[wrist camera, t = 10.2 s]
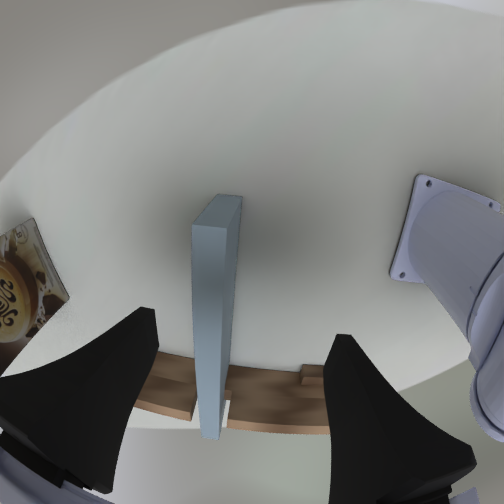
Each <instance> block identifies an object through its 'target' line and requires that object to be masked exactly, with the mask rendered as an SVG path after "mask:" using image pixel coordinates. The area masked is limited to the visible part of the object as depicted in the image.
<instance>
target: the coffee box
mask: <svg viewBox="0 0 504 504" xmlns="http://www.w3.org/2000/svg"><path fill="white" fill-rule="evenodd" d="M68 300H69V297H68V295H67V293H66V291H65V289H64V287H63V285H62V283H61V281H60V279H59V277H58V275H57V273H56V271H55V269H54V267H53V265H52V263H51V260H50V258H49V256H48V254H47V251H46V249H45V247H44V244H43V242H42V239H41V237H40V234H39V232H38V229H37V226H36V224H35V221H34V219H33V218H32V219H30V220H28V221H26V222H24V223H22V224H20V225H19V226H17V227H15V228H13V229H12V230H10V231H8V232H6V233H5V234H3V235H1V236H0V377H1V375H2V374H3V373H4V371H5V370H6V369H7V368H8V366H9V365H10V364H11V363H12V362H13V360H14V359H15V358H16V357H17V355H18V354H19V353H20V352H21V351H22V350H23V348H24V347H25V346H26V345H27V344H28V343H29V341H30V340H31V339H32V338H33V337H34V336H35V335H36V333H37V332H38V331H39V330H40V329H41V328H42V327H43V326H44V325H45V324H46V322H47V321H48V320H49V319H50V318H51V317H52V316H53V315H54V314H55V313H56V312H57V311H58V310H59V309H60V308H61V307H62V306H63V305H64V304H65V303H66V302H67V301H68Z"/></svg>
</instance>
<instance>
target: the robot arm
mask: <svg viewBox="0 0 504 504" xmlns="http://www.w3.org/2000/svg"><path fill="white" fill-rule="evenodd" d="M428 180H429V185H428V186H426V182H427V181H428ZM489 203H490V205H489ZM500 208H501V206H500V203H499V202H497V201H495V200H492V199H490V198H488V197H485V196H483V195H480V194H478V193H475V192H473V191H470V190H467V189H465V188H462V187H459V186H456V185H454V184H451V183H448V182H445V181H442V180H439V179H436V178H433V177H430V176H427V175H423V174H419V175H418V176H417V177H416V179H415V184H414V189H413V193H412V197H411V202H410V206H409V210H408V213H407V217H406V221H405V225H404V228H403V232H402V235H401V239H400V242H399V245H398V249H397V252H396V255H395V258H394V261H393V264H392V267H391V270H390V277H391V278H392V279H393V280H398V281H407V282H416V283H425V284H426V285H427V286H428V287H429V288H430V290H431V291H432V292H433V293H434V295H435V296H436V297H437V299H438V300H439V301H440V303H441V304H442V305H443V307H444V308H445V309H446V311H447V312H448V313H449V315H450V316H451V317H452V319H453V320H454V322H455V323H456V324H457V326H458V327H459V329H460V330H461V332H462V333H463V335H464V336H465V338H466V339H467V341H468V342H469V343H470V346H471V352H470V355H469V357H468V358H469V360H470V361H471V363H472V365H473V367H474V368H475V370H476V373H475V375H474V377H473V380H472V383H471V387H470V404H471V408H472V412H473V414H474V417H475V419H476V421H477V422H478V424H479V425H480V427H481V428H482V429H483V430H484V431H485V432H486V433H487V434H488V435H489V436H490V437H492V438H493V439H495V440H498V441H500V442H504V215H502V214H501V213H499V212H500ZM402 272H403V275H401V276H400V273H402ZM158 348H159V341H158V334H157V326H156V318H155V310H154V309H150V308H145V307H139V308H138V309H137V310H135V311H134V312H132V313H131V314H130V315H128V316H127V317H126V318H124V319H123V320H122V321H120V322H119V323H117V324H116V325H115V326H113V327H112V328H110V329H109V330H108V331H106V332H105V333H103V334H102V335H100V336H99V337H97V338H96V339H94V340H93V341H91V342H90V343H88V344H86V345H85V346H83V347H82V348H80V349H78V350H76V351H74V352H73V353H71V354H69V355H67V356H65V357H63V358H61V359H58V360H56V361H54V362H51V363H49V364H46V365H44V366H42V367H39V368H36V369H33V370H30V371H26V372H23V373H19V374H15V375H10V376H5V377H0V427H1V428H2V429H3V432H2V434H0V502H1V503H2V504H114V503H112V502H109V501H107V500H104V499H102V498H100V497H98V496H95V495H93V494H91V493H89V492H87V491H85V490H83V487H84V488H86V489H89V490H92V489H93V490H96V491H98V492H100V493H103V494H108V493H111V492H112V490H113V482H114V475H115V469H116V464H117V460H118V455H119V451H120V446H121V443H122V439H123V435H124V432H125V428H126V426H127V422H128V419H129V416H130V414H131V411H132V409H133V406H134V404H135V402H136V400H137V398H138V396H139V394H140V391H141V389H142V387H143V385H144V383H145V381H146V379H147V377H148V375H149V373H150V371H151V368H152V366H153V363H154V360H155V358H156V354H157V351H158ZM323 386H324V396H325V402H326V409H327V415H328V422H329V428H330V435H331V484H330V495H329V503H328V504H480V503H479V498H478V494H477V490H476V487H473V488H471V489H469V490H467V491H465V492H463V493H461V494H459V495H457V496H455V497H453V498H451V499H449V498H448V494H449V493H451V492H452V488H451V484H453V483H455V482H456V481H458V480H459V479H461V478H462V477H464V476H465V475H467V474H468V473H469V472H471V471H472V470H473V469H474V468H475V467H476V465H477V462H476V459H475V456H474V453H473V450H472V447H471V446H470V445H468V444H466V443H464V442H462V441H460V440H458V439H456V438H454V437H453V436H451V435H449V434H448V433H446V432H444V431H443V430H441V429H440V428H438V427H437V426H435V425H434V424H433V423H431V422H430V421H429V420H427V419H426V418H425V417H423V416H422V415H421V414H420V413H418V412H417V411H416V410H415V409H414V408H413V407H412V406H411V405H410V404H409V403H407V402H406V401H405V400H404V399H403V398H402V397H401V396H400V395H399V394H398V393H397V392H396V391H395V389H394V388H393V387H392V386H391V385H390V384H389V383H388V382H387V380H386V379H385V378H384V377H383V376H382V374H381V373H380V372H379V371H378V369H377V368H376V367H375V366H374V364H373V363H372V362H371V360H370V359H369V358H368V356H367V355H366V354H365V353H364V351H363V350H362V348H361V347H360V346H359V344H358V343H357V342H356V340H355V339H354V338H353V337H352V335H347V334H337V335H336V337H335V340H334V342H333V345H332V347H331V350H330V352H329V355H328V357H327V360H326V362H325V365H324V367H323Z"/></svg>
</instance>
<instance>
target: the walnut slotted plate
mask: <svg viewBox="0 0 504 504" xmlns="http://www.w3.org/2000/svg"><path fill="white" fill-rule="evenodd" d="M323 367H324V366H319V365H303V366H302V369H301V371H300V373H298V372H285V371H274V370H265V369H256V368H248V367H240V366H233V365H229V367H228V372H227V377H226V382H225V391H224V400H231V401H230V407H229V413H228V419H227V428H232V429H240V430H248V431H258V432H269V433H285V434H330V428H329V422H328V415H327V409H326V402H325V396H324V386H323ZM197 397H198V396H197V384H196V370H195V359H191V358H186V357H181V356H176V355H171V354H167V353H162V352H158V351H157V354H156V358H155V360H154V363H153V366H152V368H151V371H150V373H149V375H148V377H147V379H146V381H145V383H144V385H143V387H142V389H141V391H140V394H139V396H138V398H137V400H136V402H135V404H134V406H133V407H136V408H140V409H143V410H147V411H150V412H154V413H157V414H161V415H165V416H169V417H173V418H178V419H182V420H187V421H191V420H192V416H193V412H194V409H195V405H196V401H197Z"/></svg>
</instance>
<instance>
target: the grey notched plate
mask: <svg viewBox="0 0 504 504" xmlns="http://www.w3.org/2000/svg"><path fill="white" fill-rule="evenodd" d="M241 204H242V197H241V196H231V195H221V194H217V195H216V197H215V198H214V199H213V200H212V201H211V202H210V204H209V205H208V206H207V207H206V208H205V209H204V211H203V212H202V213H201V214H200V215H199V217H198V218H197V219H196V220H195V221H194V223H193V224H192V312H193V336H194V355H195V370H196V384H197V396H198V407H199V417H200V427H201V435H202V437H204V438H210V439H216V440H219V437H220V432H221V426H222V420H223V415H224V409H225V404H226V400H224V391H225V382H226V377H227V372H228V367H229V361H230V346H231V331H232V317H233V303H234V290H235V277H236V264H237V251H238V239H239V227H240V215H241Z"/></svg>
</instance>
